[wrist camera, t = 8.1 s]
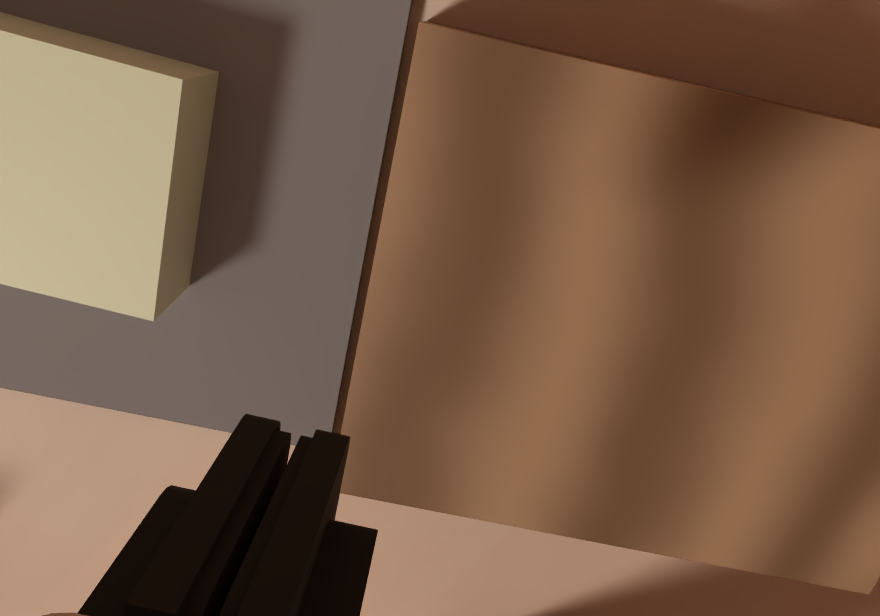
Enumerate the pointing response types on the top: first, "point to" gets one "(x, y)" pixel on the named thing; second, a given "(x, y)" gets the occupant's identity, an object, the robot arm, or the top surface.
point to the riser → (625, 314)
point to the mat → (237, 217)
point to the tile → (99, 168)
